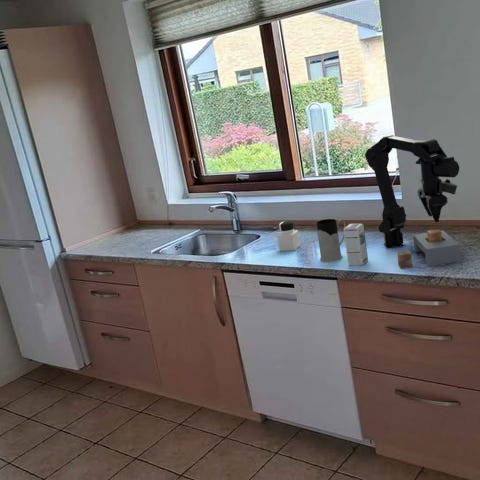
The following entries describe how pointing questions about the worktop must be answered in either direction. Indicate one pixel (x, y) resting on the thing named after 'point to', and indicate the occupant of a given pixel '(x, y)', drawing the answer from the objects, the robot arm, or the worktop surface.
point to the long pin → (434, 235)
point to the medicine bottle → (288, 237)
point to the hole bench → (438, 249)
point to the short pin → (404, 259)
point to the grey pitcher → (329, 240)
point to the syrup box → (355, 244)
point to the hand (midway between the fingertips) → (433, 219)
